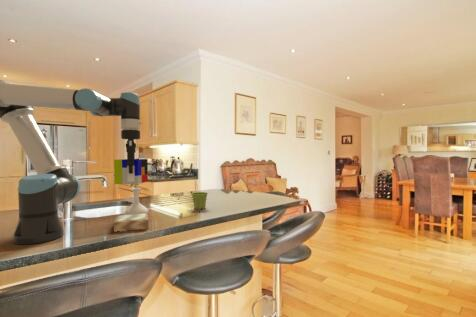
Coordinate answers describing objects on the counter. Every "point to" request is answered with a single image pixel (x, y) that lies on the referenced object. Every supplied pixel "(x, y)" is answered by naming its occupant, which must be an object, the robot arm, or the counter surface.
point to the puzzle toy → (139, 171)
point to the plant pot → (199, 200)
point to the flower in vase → (136, 203)
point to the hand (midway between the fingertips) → (131, 180)
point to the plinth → (131, 222)
